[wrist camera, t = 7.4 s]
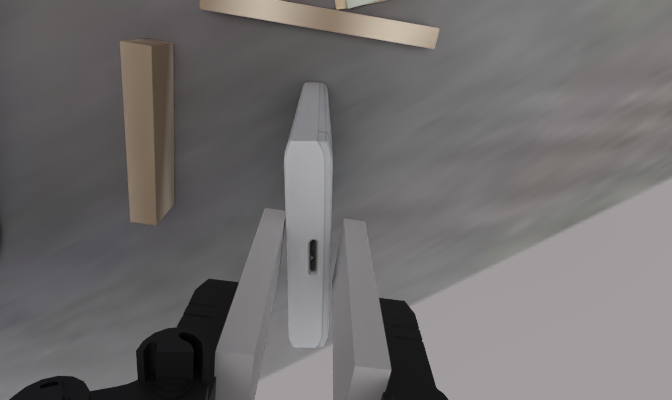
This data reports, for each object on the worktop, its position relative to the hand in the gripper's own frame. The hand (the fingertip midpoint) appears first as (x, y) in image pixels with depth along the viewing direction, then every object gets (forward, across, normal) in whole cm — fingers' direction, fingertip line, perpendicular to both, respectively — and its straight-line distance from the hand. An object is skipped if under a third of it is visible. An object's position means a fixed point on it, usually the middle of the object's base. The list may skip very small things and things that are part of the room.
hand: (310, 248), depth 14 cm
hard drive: (+12, 0, 0) cm, 12 cm away
